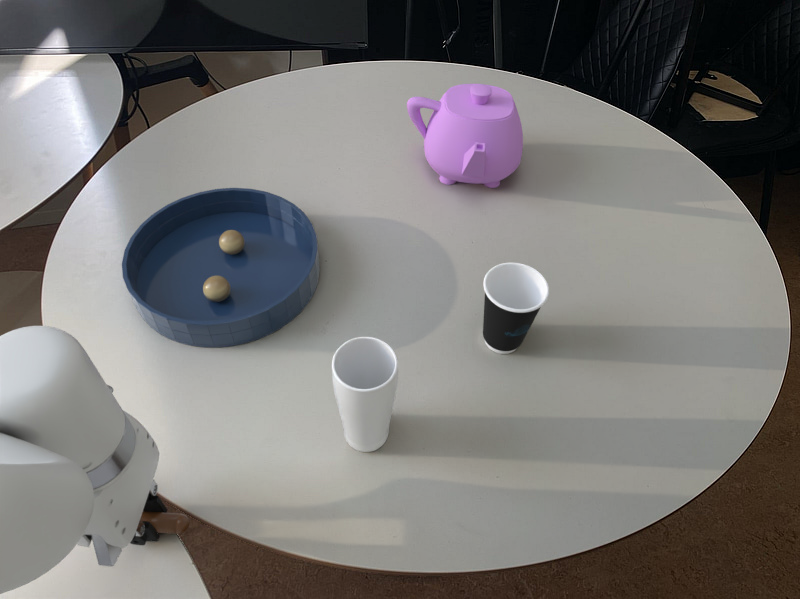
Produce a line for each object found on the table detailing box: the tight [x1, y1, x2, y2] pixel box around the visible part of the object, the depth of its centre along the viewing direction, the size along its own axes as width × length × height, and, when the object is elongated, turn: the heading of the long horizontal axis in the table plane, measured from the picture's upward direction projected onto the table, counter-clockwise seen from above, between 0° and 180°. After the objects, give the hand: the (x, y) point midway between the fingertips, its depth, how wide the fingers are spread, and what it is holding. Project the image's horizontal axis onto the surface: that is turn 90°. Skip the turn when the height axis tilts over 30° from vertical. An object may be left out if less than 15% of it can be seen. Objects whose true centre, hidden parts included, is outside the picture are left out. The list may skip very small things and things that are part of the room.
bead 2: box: [219, 230, 245, 255], centre depth 87 cm, size 4×4×4 cm
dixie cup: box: [482, 261, 550, 355], centre depth 76 cm, size 8×8×11 cm
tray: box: [121, 187, 321, 348], centre depth 85 cm, size 26×26×5 cm
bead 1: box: [203, 276, 230, 302], centre depth 82 cm, size 4×4×4 cm
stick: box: [140, 511, 190, 535], centre depth 63 cm, size 2×9×2 cm, turn 87°
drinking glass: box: [331, 336, 399, 453], centre depth 65 cm, size 7×7×15 cm
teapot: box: [406, 83, 524, 189], centre depth 97 cm, size 20×20×15 cm
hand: (148, 524), depth 63 cm, fingers closed on stick, 2 cm apart
